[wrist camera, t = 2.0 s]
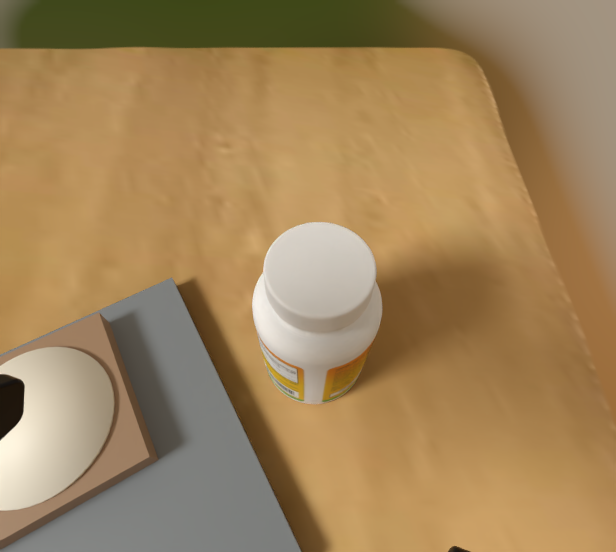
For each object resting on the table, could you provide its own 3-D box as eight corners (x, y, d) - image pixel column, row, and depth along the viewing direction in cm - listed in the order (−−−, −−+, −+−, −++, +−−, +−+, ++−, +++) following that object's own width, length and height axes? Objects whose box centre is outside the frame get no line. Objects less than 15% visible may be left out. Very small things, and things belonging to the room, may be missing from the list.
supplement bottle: (360, 314, 24) (393, 208, 15) (363, 408, 21) (403, 342, 13) (269, 310, 24) (252, 202, 15) (260, 403, 21) (232, 334, 13)
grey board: (307, 563, 18) (308, 571, 15) (20, 767, 15) (-29, 811, 12) (176, 285, 25) (164, 264, 22) (-38, 383, 21) (-76, 369, 19)
